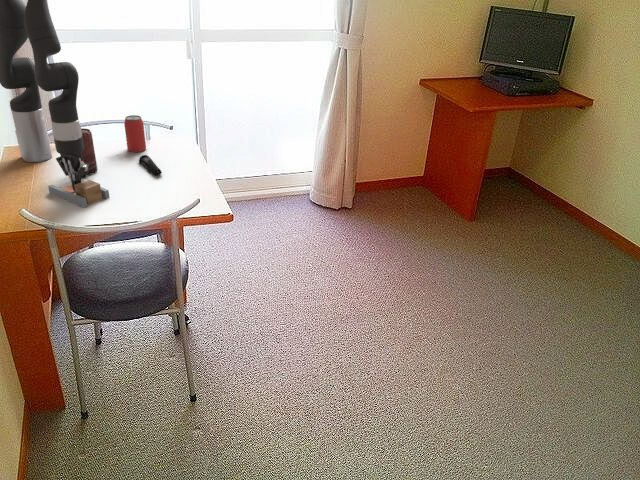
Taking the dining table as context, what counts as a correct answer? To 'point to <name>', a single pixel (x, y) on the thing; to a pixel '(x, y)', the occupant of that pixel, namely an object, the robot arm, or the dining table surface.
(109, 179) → the dining table surface
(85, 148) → the can
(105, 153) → the dining table surface
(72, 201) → the channel
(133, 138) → the beer can
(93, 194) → the block
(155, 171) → the electric trimmer
